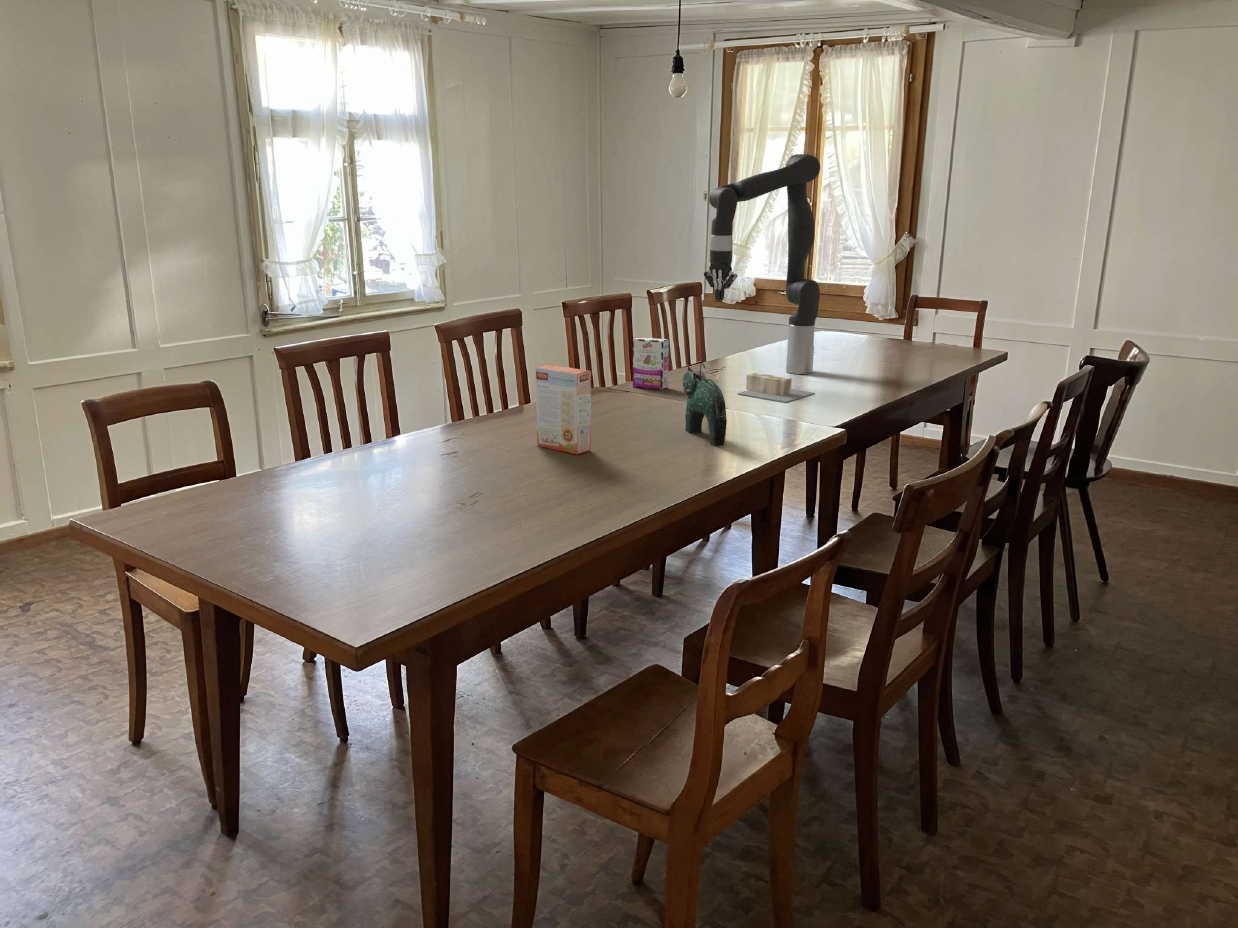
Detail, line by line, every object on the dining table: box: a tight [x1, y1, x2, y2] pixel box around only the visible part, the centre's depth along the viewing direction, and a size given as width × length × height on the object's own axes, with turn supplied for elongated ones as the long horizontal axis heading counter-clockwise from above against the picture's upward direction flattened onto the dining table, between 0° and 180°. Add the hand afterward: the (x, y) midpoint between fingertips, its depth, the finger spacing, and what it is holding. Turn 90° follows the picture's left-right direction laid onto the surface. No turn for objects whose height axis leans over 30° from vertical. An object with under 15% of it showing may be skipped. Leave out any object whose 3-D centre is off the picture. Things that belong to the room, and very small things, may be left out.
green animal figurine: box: [682, 362, 728, 447], centre depth 260 cm, size 20×6×20 cm, turn 21°
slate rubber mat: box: [737, 388, 816, 404], centre depth 316 cm, size 18×18×1 cm
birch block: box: [745, 372, 793, 396], centre depth 317 cm, size 5×5×14 cm
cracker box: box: [535, 364, 592, 455], centre depth 247 cm, size 14×6×21 cm, turn 51°
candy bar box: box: [632, 336, 670, 391], centre depth 322 cm, size 11×5×16 cm, turn 62°
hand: (719, 300), depth 332 cm, fingers closed
